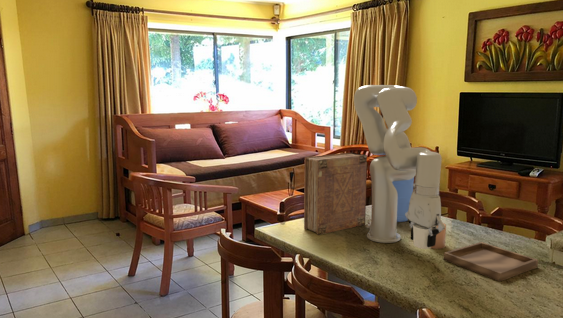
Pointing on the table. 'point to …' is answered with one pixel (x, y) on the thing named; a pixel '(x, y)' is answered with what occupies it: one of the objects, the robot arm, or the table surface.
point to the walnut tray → (491, 261)
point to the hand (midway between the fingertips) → (422, 242)
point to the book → (334, 192)
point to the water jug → (403, 197)
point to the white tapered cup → (420, 236)
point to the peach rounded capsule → (440, 239)
